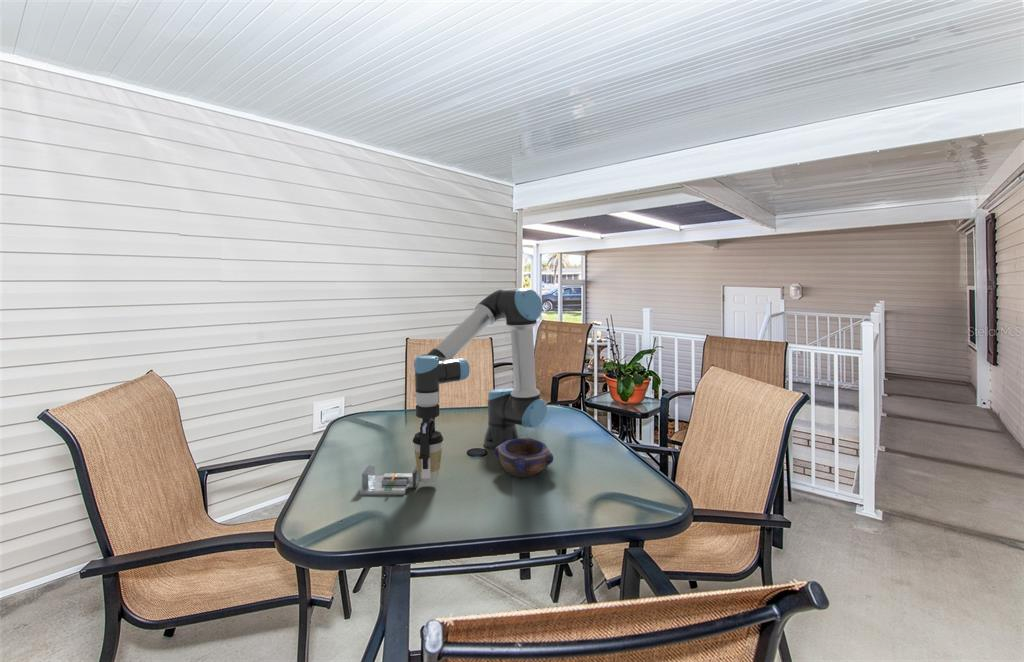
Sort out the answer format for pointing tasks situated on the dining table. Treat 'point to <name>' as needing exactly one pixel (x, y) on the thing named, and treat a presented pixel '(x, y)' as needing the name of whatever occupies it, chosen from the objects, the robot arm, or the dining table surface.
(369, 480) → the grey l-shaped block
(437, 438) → the coffee cup
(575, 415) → the dining table surface
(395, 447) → the dining table surface
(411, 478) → the plunger
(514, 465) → the bowl
